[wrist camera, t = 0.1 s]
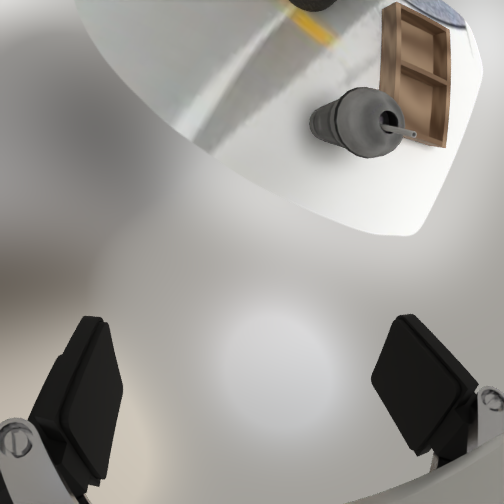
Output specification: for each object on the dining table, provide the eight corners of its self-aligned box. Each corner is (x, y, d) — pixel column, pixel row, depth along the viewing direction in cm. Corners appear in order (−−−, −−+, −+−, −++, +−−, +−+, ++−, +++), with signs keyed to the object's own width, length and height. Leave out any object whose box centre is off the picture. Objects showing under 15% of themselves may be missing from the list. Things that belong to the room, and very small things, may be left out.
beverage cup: (359, 120, 36) (464, 122, 18) (331, 161, 38) (426, 189, 20) (318, 87, 34) (409, 56, 16) (288, 129, 36) (363, 126, 17)
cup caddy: (381, 9, 30) (396, 1, 26) (434, 34, 32) (449, 29, 28) (375, 129, 37) (390, 130, 33) (428, 145, 39) (445, 148, 35)
